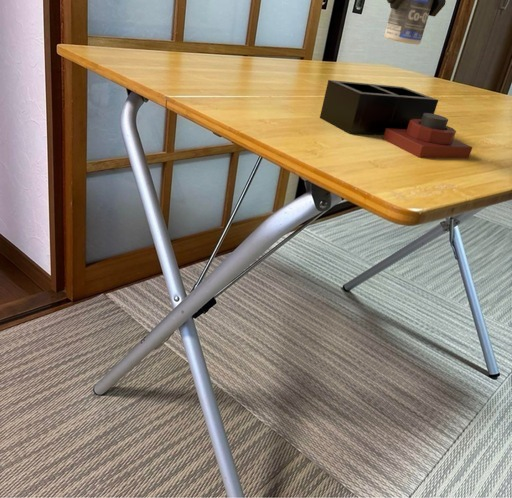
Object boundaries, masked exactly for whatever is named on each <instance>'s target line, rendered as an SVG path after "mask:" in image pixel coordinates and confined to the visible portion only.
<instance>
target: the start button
mask: <svg viewBox="0 0 512 498" xmlns="http://www.w3.org/2000/svg"><path fill="white" fill-rule="evenodd" d="M448 122H449V119H448V117H445V116H443V115H439V114H435V113H434V114H431V113H424V114H423V116H422V119H421V123H420V124H421V125H423V126H426V127H429V128H433V129H438V130H445V128H446V126H448Z"/></svg>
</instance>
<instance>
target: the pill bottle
mask: <svg viewBox="0 0 512 498" xmlns="http://www.w3.org/2000/svg"><path fill="white" fill-rule="evenodd" d="M432 3H433V0H403V2H402V3H401V4H400V6H399V7H398V8H397V9H393V8H391V7H390V12H389V16H388V20H387V24H386V27H385V31H384V35H383V36H384V39H387V40H391V41H395V42H399V43H404V44H409V45H417V46H418V45H420V44H421V42H422V40H423V37H424V36H423V35H424V32H425V29H426V25H427V22H428V20H429V17H430V16H429V13H430V10H431V6H432Z"/></svg>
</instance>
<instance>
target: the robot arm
mask: <svg viewBox="0 0 512 498" xmlns="http://www.w3.org/2000/svg"><path fill="white" fill-rule="evenodd" d="M386 1H387V3H388V4H389V7H390V9H391V8H393V9H397V8H398V7H399V6H400V4H401V3H402V2H403V0H386ZM446 3H447V1H446V0H433V3H432V6H431V10H430V13H429V16H428V17H436V16H437V15H439V12H440V11H441V10H442V9H443V8H444V7H445V5H446Z"/></svg>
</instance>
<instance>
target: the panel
mask: <svg viewBox="0 0 512 498" xmlns="http://www.w3.org/2000/svg"><path fill="white" fill-rule="evenodd" d="M420 123H421V119H412V120H410V122H409V125H408V128H407V129H390V128H386V130H385V133H384V136H383V135H382V140H383V141H385V142H387V143H390V144H391V145H393V146H395V147H397V148H399V149H400V150H403V151H405V152H407V153H409V154H411V155H413V156H415V157H417V158H419V159H469V158H470V156H471V152H472V150H473V146H471V145H469V144H466V143H465V142H462V141H459V140H457V139H455V136H456V133H457V131H456V130H455V129H454V128H453V127H451V126H449V125H446V128H445V130H438V129H433V128H429V127H426V126H423V125H421V124H420Z"/></svg>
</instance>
